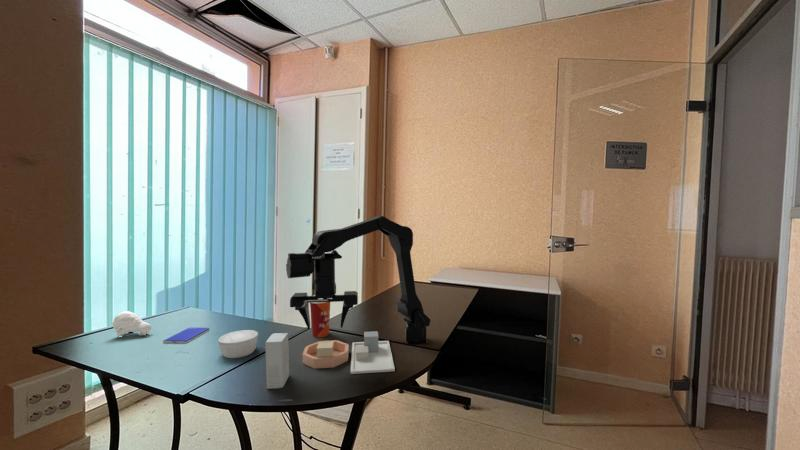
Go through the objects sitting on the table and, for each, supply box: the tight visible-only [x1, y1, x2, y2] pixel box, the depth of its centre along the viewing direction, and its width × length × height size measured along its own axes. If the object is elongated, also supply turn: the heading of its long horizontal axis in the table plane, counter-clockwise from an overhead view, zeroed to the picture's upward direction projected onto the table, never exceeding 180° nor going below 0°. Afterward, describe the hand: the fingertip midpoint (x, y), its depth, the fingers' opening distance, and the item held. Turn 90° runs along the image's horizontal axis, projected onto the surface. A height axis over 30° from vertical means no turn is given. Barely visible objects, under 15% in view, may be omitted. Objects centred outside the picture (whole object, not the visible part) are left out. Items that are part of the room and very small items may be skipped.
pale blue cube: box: [363, 330, 379, 353], centre depth 104 cm, size 4×4×5 cm
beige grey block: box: [356, 346, 369, 361], centre depth 99 cm, size 4×5×2 cm
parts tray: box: [350, 340, 395, 375], centre depth 99 cm, size 12×20×1 cm, turn 7°
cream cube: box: [316, 341, 334, 357], centre depth 95 cm, size 4×4×5 cm
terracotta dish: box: [302, 339, 350, 369], centre depth 98 cm, size 13×13×3 cm
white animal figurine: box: [111, 310, 152, 337], centre depth 118 cm, size 6×8×12 cm
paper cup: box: [309, 294, 332, 338], centre depth 117 cm, size 8×8×14 cm
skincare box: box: [264, 332, 290, 390], centre depth 85 cm, size 6×4×12 cm
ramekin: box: [217, 329, 259, 359], centre depth 104 cm, size 11×11×5 cm
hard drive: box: [162, 326, 210, 344], centre depth 117 cm, size 2×8×12 cm
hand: (325, 328), depth 95 cm, fingers open, 9 cm apart
